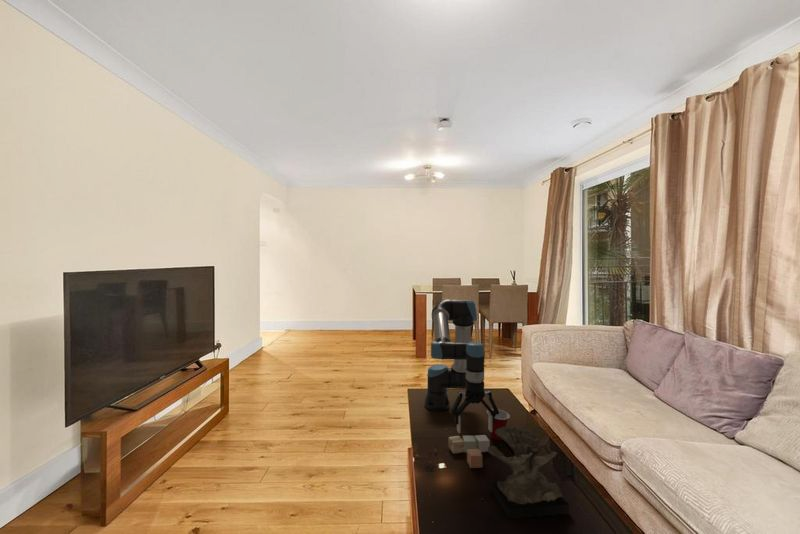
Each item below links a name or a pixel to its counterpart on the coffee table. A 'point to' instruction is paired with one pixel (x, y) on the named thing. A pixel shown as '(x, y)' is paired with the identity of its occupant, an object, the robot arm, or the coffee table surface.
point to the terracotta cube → (474, 458)
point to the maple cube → (456, 444)
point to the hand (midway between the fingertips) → (474, 431)
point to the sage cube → (469, 443)
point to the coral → (526, 477)
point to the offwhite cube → (482, 443)
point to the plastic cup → (499, 422)
